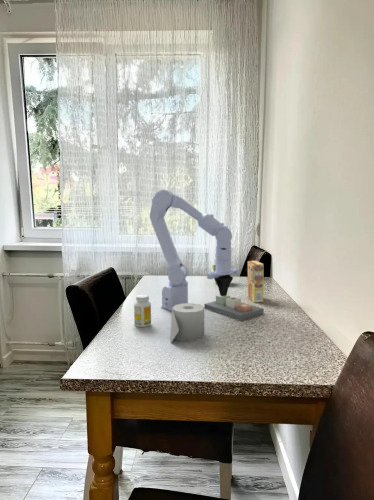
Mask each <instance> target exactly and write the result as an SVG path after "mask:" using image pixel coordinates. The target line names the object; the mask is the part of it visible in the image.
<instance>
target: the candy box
mask: <svg viewBox="0 0 374 500" xmlns="http://www.w3.org/2000/svg"><path fill="white" fill-rule="evenodd" d="M264 268H265V267H264V263H262V262H260V261H258V260H248V261H247V297H248V299H250V300H251V301H252V302H253V303H263V302H264V271H265V270H264Z"/></svg>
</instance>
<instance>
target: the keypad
mask: <svg viewBox="0 0 374 500" xmlns="http://www.w3.org/2000/svg"><path fill="white" fill-rule="evenodd" d="M241 304H247V305H251V306H252V310H251V311H247V312H242V311H239V310H236V308H235V309H233V308H229V307H226V305H224V306H223V305H219V304H216V300H215V301H212V302H206V303H204V306H203V307H204V310H206V311H211V312H212V313H213V312H214V313H217V314H220V315H223V316H226V317H228V318H231V319H235V320H236V321H237V320H238V321H244V320H247V319H250V318H254V317H257V316H260V315H264V310H265V309H264V308H263V307H260V306H256V305H253V304H249V303H245V302H242V301H241Z"/></svg>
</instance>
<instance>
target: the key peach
mask: <svg viewBox="0 0 374 500" xmlns="http://www.w3.org/2000/svg"><path fill="white" fill-rule="evenodd" d="M247 304H248V303H246V304H240V305H237V307H236V310H239V311H242V312H247V311H251V310H252V306H251V305H252V304H249V305H247Z"/></svg>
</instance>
